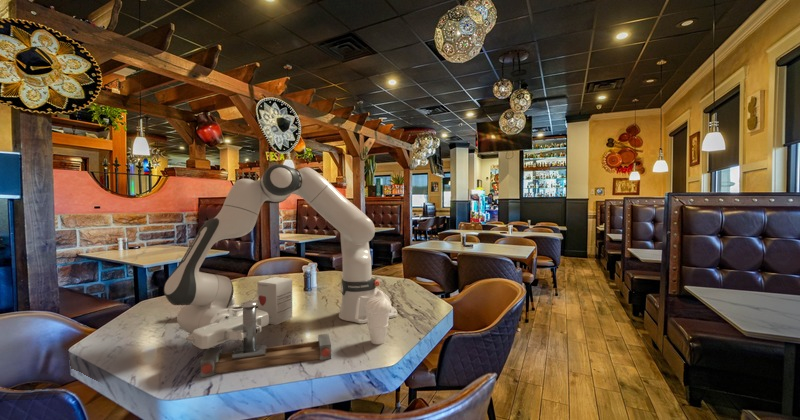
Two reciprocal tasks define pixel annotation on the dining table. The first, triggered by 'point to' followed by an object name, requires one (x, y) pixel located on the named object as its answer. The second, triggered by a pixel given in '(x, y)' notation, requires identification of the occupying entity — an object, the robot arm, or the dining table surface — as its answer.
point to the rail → (274, 356)
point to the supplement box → (275, 298)
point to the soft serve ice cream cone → (378, 317)
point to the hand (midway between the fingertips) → (251, 332)
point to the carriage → (249, 334)
